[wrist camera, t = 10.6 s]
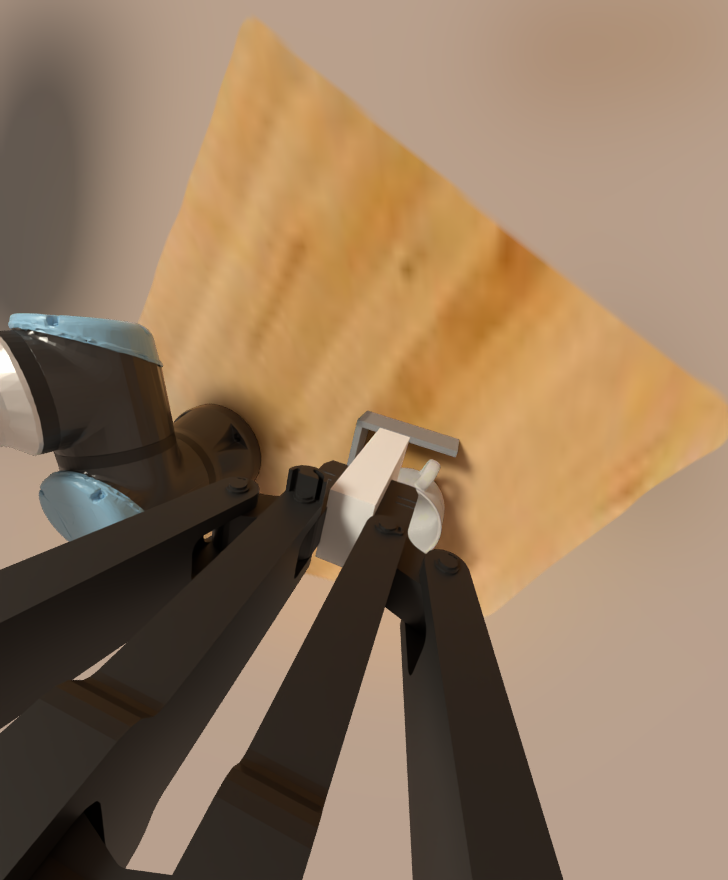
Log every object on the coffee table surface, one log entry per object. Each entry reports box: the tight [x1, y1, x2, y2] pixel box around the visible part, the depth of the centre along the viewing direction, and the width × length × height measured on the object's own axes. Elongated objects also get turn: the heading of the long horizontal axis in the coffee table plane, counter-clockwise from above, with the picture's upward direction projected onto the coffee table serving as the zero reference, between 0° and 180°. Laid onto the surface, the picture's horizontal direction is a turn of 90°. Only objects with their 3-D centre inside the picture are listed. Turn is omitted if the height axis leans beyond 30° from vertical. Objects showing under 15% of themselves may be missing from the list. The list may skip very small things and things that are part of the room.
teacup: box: [397, 459, 445, 553], centre depth 48 cm, size 14×11×8 cm
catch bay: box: [347, 411, 459, 466], centre depth 50 cm, size 13×18×4 cm
